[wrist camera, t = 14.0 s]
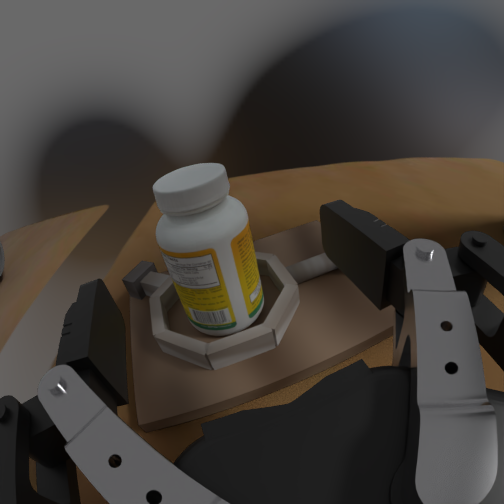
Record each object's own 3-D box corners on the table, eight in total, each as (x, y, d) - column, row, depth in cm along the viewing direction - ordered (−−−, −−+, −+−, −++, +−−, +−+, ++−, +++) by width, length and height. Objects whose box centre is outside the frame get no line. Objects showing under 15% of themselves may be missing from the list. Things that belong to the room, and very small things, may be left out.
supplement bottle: (208, 352, 18) (150, 209, 13) (179, 305, 22) (131, 184, 17) (281, 311, 20) (256, 168, 15) (242, 273, 24) (212, 153, 19)
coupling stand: (317, 229, 29) (315, 203, 28) (416, 321, 18) (424, 289, 16) (134, 292, 26) (121, 267, 24) (146, 432, 15) (122, 410, 13)
